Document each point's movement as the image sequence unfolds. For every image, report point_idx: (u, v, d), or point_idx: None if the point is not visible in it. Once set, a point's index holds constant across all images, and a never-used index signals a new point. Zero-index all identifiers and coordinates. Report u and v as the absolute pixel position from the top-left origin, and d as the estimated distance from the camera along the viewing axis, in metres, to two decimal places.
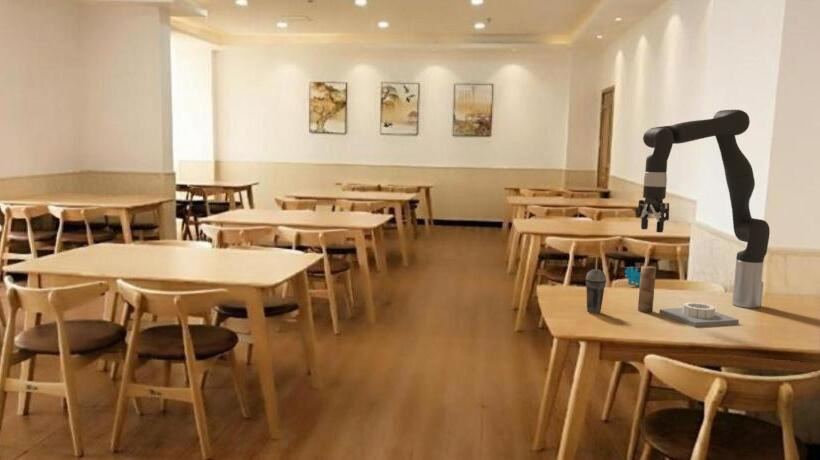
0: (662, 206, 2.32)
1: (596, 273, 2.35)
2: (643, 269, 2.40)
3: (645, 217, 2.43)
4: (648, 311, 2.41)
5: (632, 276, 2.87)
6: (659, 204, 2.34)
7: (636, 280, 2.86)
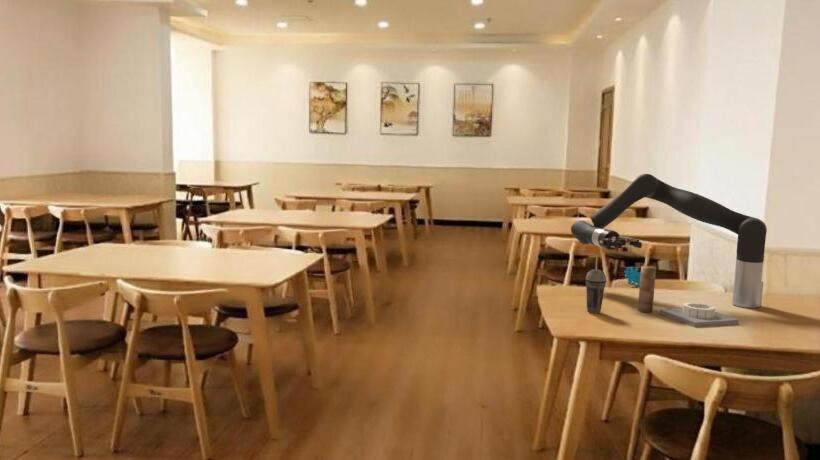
0: (601, 244, 2.58)
1: (596, 273, 2.35)
2: (643, 269, 2.40)
3: (633, 243, 2.56)
4: (648, 311, 2.41)
5: (632, 276, 2.87)
6: None
7: (636, 280, 2.87)
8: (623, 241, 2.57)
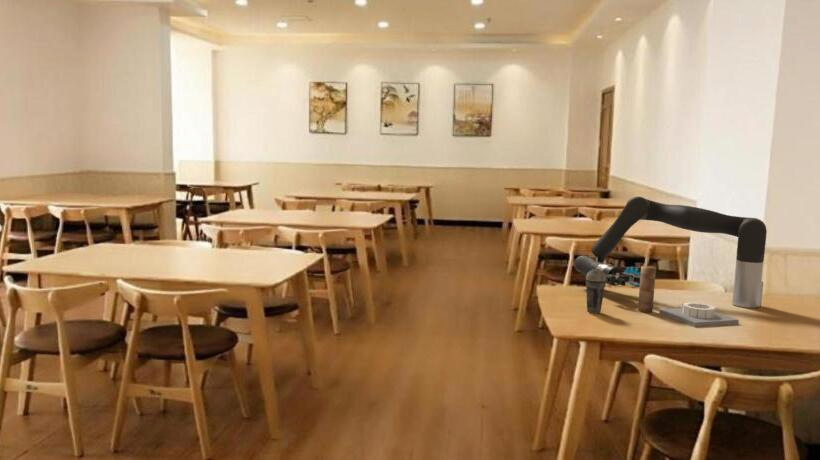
0: None
1: (596, 273, 2.35)
2: (643, 269, 2.40)
3: (637, 279, 2.55)
4: (648, 311, 2.41)
5: None
6: None
7: None
8: (627, 277, 2.55)
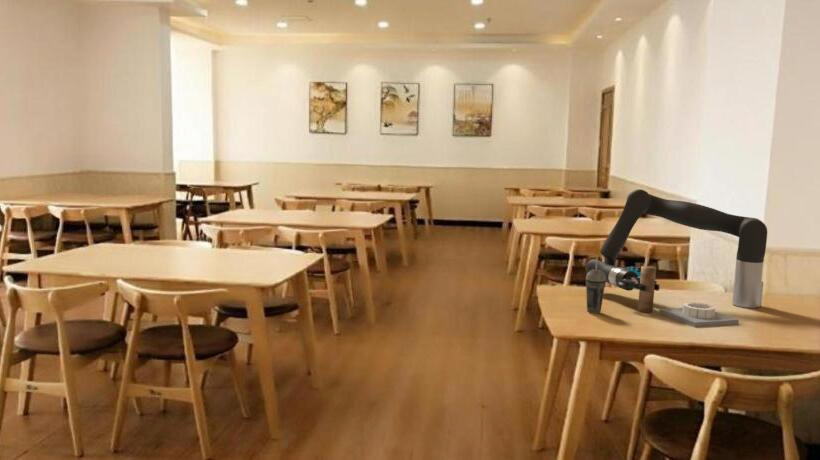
0: (621, 286, 2.47)
1: (596, 273, 2.35)
2: (643, 269, 2.40)
3: None
4: (648, 311, 2.41)
5: None
6: None
7: None
8: (639, 282, 2.47)
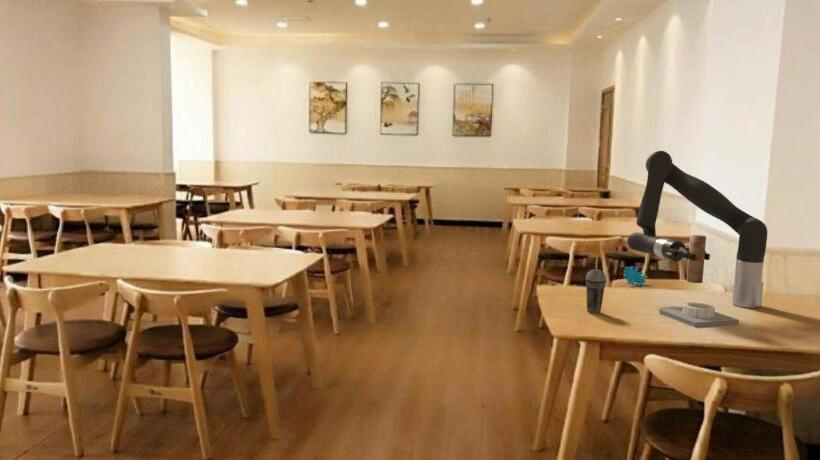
0: (669, 256, 2.38)
1: (596, 273, 2.35)
2: (693, 238, 2.31)
3: None
4: (698, 281, 2.32)
5: (631, 275, 2.88)
6: None
7: (634, 280, 2.87)
8: (688, 252, 2.37)
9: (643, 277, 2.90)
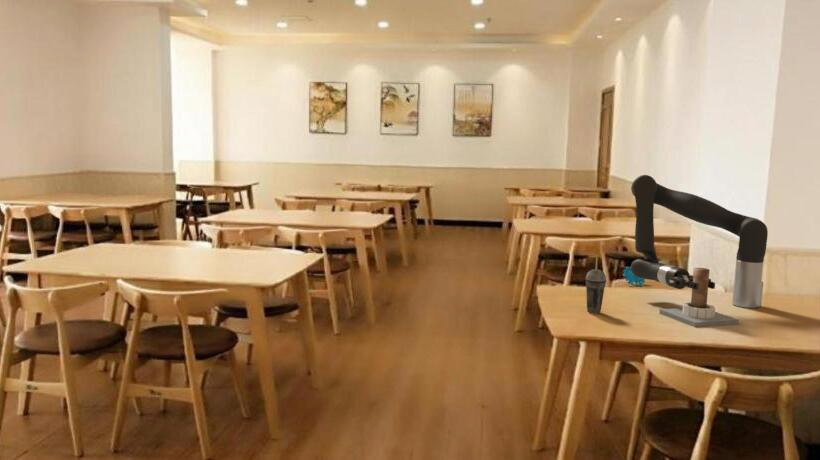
0: (672, 284, 2.38)
1: (596, 273, 2.35)
2: (696, 271, 2.32)
3: None
4: None
5: (630, 275, 2.89)
6: None
7: (634, 279, 2.88)
8: None
9: None
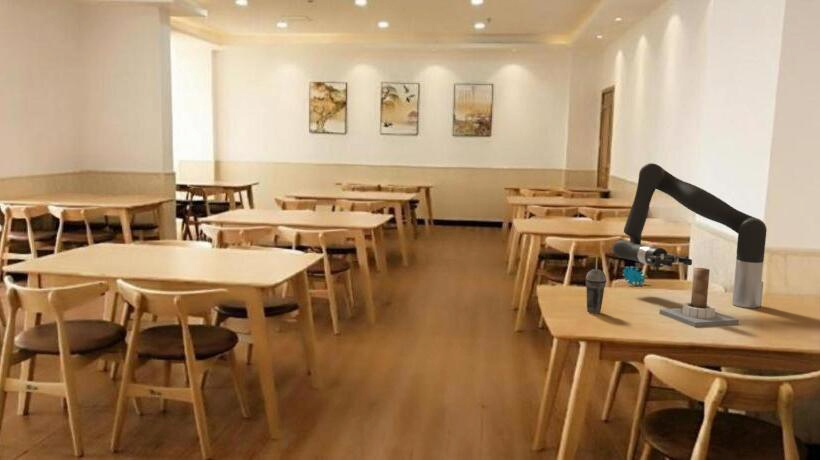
0: (649, 262, 2.50)
1: (596, 273, 2.35)
2: (696, 271, 2.32)
3: (682, 260, 2.48)
4: None
5: (630, 275, 2.89)
6: None
7: (633, 279, 2.88)
8: (672, 258, 2.49)
9: (643, 277, 2.90)
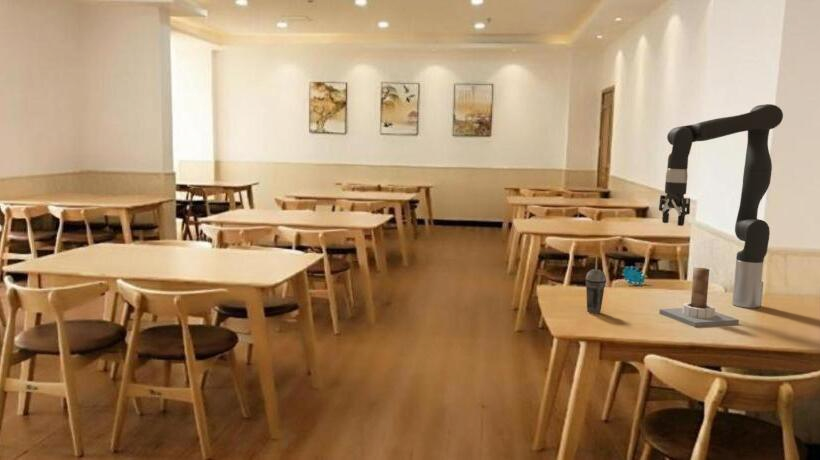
0: (683, 201, 2.47)
1: (596, 273, 2.35)
2: (696, 271, 2.32)
3: (666, 211, 2.58)
4: None
5: (629, 275, 2.89)
6: (680, 199, 2.49)
7: (633, 279, 2.88)
8: None
9: (643, 277, 2.90)
